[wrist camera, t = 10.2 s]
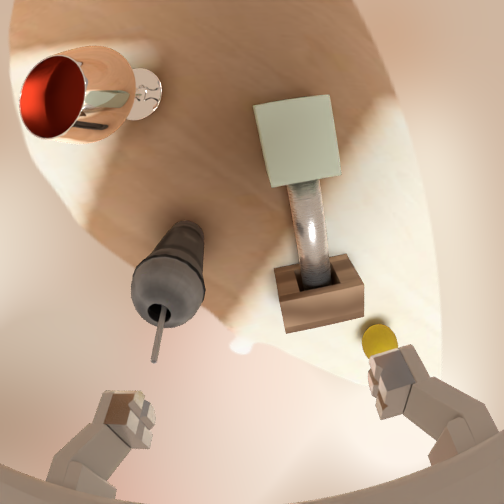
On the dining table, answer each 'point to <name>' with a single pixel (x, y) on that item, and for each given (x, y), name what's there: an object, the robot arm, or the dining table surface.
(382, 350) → the lemon
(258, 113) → the sage green block
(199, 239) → the beverage cup
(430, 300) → the dining table surface
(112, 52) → the wineglass
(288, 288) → the socket
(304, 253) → the tube
